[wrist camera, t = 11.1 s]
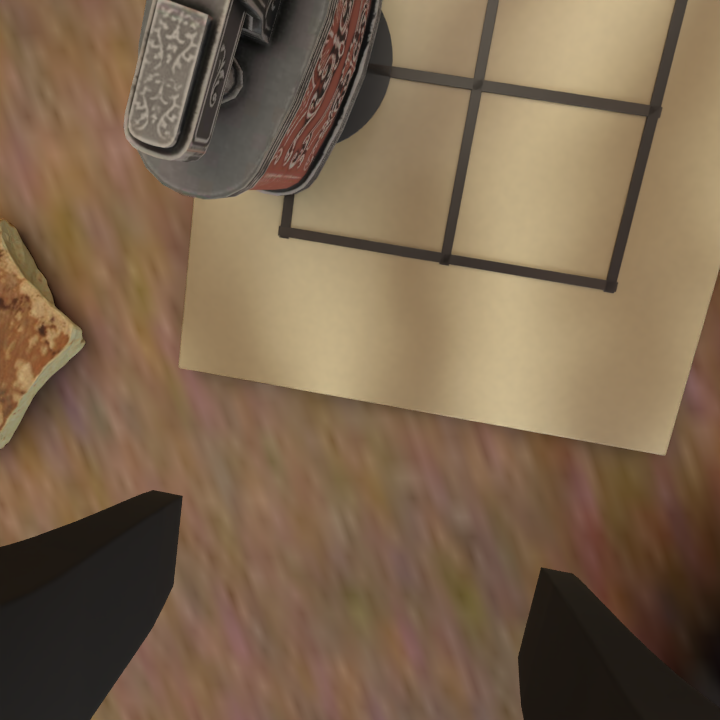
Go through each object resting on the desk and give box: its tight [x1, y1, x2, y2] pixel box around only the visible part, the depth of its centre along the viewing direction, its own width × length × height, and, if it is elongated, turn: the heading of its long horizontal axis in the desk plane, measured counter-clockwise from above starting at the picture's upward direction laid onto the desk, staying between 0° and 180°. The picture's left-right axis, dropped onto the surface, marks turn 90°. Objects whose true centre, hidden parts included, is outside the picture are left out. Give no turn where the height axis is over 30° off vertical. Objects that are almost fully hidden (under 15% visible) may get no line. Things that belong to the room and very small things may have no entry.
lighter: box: [124, 0, 383, 200], centre depth 15 cm, size 8×3×10 cm, turn 160°
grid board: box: [179, 0, 720, 455], centre depth 20 cm, size 16×20×1 cm
